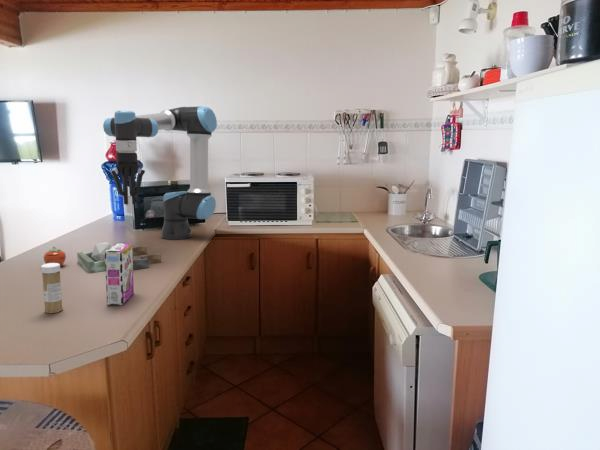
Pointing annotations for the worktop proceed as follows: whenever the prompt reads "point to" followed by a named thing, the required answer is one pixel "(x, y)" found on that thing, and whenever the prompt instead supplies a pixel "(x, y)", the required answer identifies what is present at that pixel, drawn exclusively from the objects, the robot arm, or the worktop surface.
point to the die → (100, 251)
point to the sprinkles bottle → (52, 287)
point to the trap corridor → (92, 266)
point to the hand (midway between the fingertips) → (129, 212)
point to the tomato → (55, 256)
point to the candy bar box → (119, 273)
